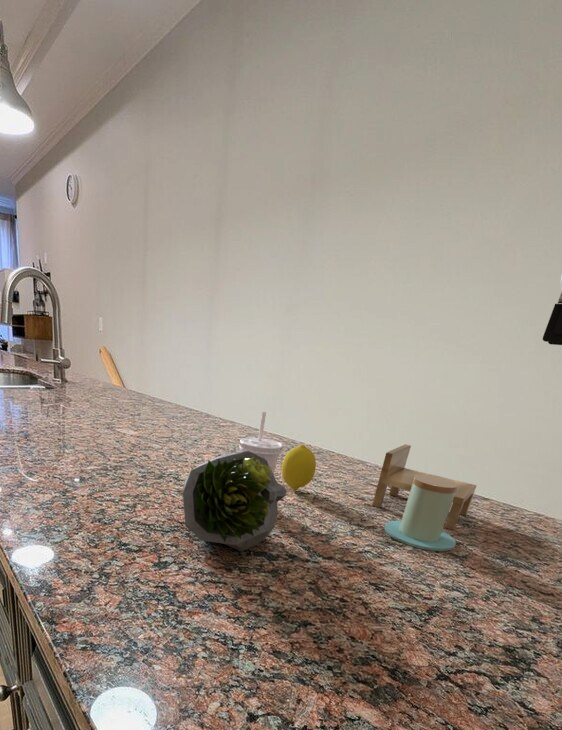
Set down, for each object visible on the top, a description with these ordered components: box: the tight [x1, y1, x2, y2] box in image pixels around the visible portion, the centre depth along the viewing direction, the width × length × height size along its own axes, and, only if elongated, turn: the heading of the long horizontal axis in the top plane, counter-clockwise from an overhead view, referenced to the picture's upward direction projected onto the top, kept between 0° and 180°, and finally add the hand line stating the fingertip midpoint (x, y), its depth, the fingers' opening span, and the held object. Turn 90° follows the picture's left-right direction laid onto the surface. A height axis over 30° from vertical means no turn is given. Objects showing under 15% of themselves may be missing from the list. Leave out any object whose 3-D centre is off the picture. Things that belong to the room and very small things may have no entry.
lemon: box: [281, 444, 317, 491], centre depth 76 cm, size 6×6×8 cm
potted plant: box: [182, 451, 287, 553], centre depth 53 cm, size 12×13×15 cm
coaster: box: [384, 520, 457, 552], centre depth 63 cm, size 9×9×1 cm
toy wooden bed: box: [371, 444, 478, 531], centre depth 71 cm, size 12×10×9 cm
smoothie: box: [238, 411, 284, 475], centre depth 67 cm, size 6×6×14 cm
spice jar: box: [399, 474, 459, 542], centre depth 61 cm, size 5×5×8 cm
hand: (560, 343), depth 55 cm, fingers open, 9 cm apart
